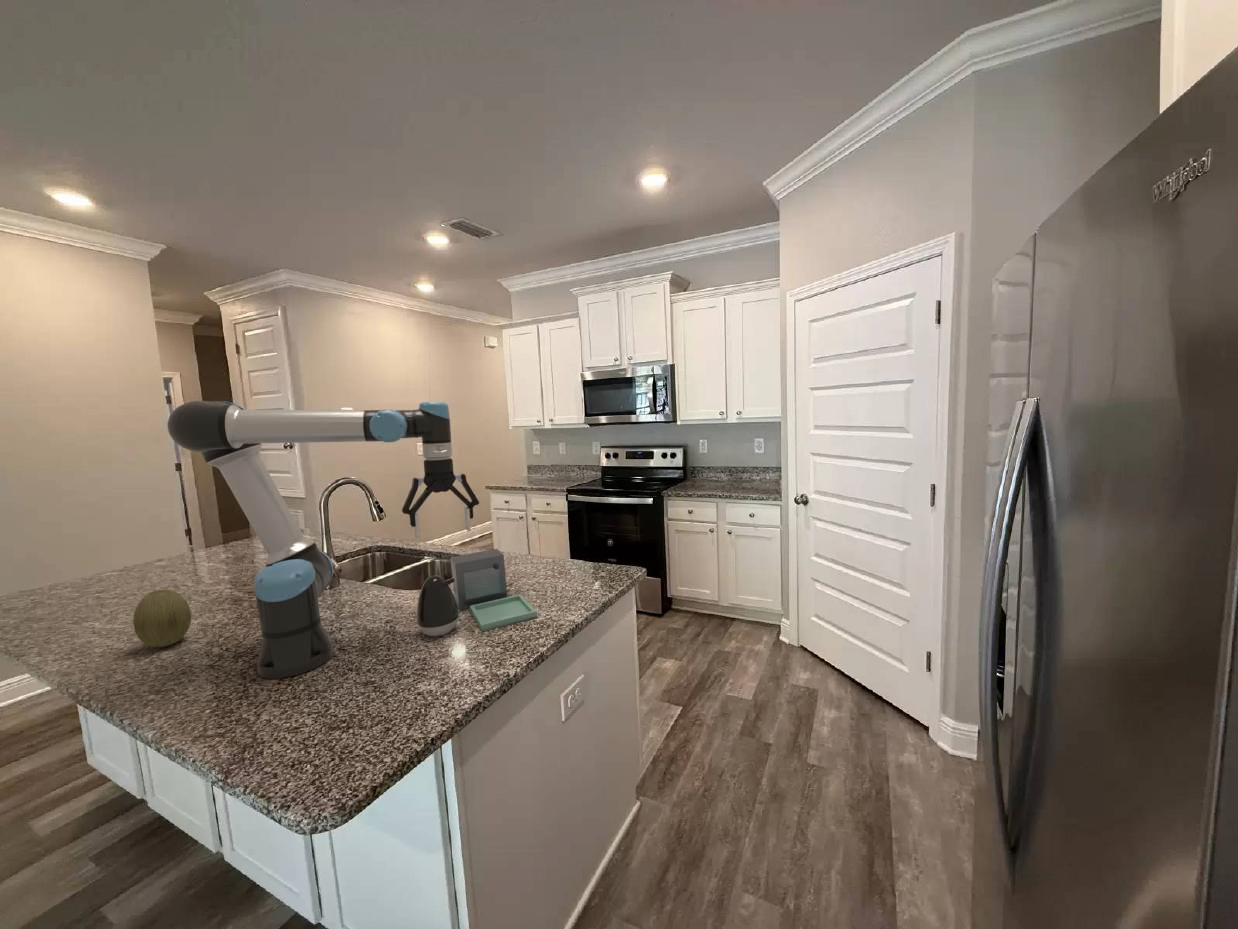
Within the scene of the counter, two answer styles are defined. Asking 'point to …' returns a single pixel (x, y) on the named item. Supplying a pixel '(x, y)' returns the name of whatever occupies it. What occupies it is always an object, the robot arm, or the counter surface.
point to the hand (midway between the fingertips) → (443, 534)
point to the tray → (502, 612)
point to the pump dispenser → (436, 607)
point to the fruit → (162, 618)
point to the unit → (478, 578)
